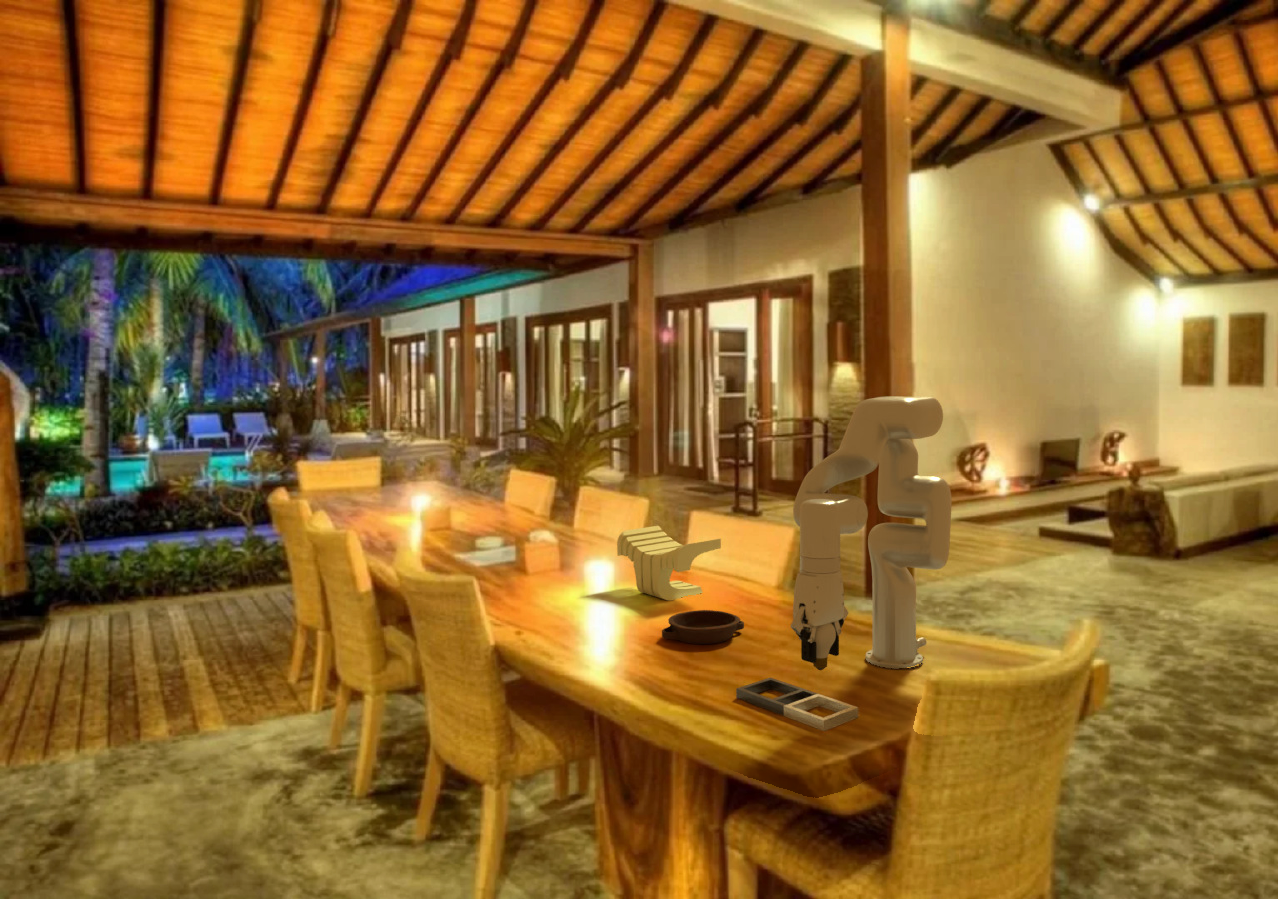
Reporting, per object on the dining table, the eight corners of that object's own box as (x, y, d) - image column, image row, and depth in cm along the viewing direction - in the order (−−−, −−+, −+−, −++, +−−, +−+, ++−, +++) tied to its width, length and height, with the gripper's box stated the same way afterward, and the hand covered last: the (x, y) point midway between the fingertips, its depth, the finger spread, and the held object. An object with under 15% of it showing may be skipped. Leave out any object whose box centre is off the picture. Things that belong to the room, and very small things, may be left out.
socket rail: (770, 686, 194) (770, 677, 194) (858, 717, 176) (858, 707, 176) (736, 698, 188) (736, 688, 188) (823, 731, 170) (823, 720, 170)
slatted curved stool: (618, 588, 284) (616, 531, 282) (659, 581, 293) (658, 525, 291) (678, 608, 259) (677, 545, 258) (721, 599, 269) (720, 538, 267)
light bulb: (831, 664, 179) (831, 614, 178) (839, 674, 173) (839, 622, 173) (801, 665, 179) (801, 615, 178) (808, 675, 173) (808, 623, 172)
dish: (759, 642, 227) (759, 622, 226) (677, 653, 219) (676, 632, 219) (729, 624, 243) (728, 605, 243) (651, 634, 236) (650, 614, 235)
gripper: (834, 555, 183) (834, 644, 184) (774, 568, 172) (774, 662, 174) (864, 561, 177) (864, 653, 178) (804, 574, 166) (804, 672, 168)
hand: (820, 656), depth 176 cm, fingers closed on light bulb, 5 cm apart
